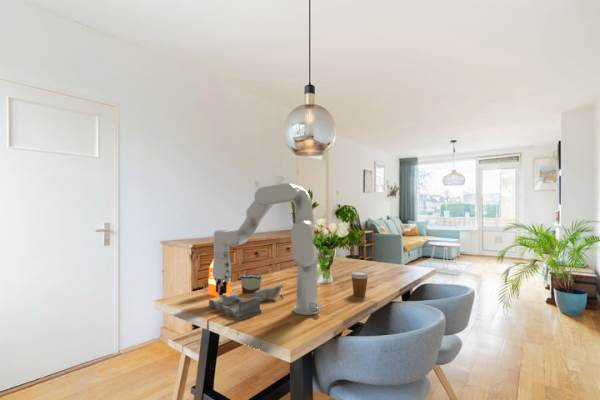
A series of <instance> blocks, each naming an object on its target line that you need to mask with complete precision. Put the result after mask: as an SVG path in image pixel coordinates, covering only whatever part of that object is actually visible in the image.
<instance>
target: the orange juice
mask: <svg viewBox="0 0 600 400" xmlns="http://www.w3.org/2000/svg"><path fill="white" fill-rule="evenodd" d="M213 262H214V258H213V259H212V261H211V263H210V265H209V266H208V295H211V296H214V297H217V298H219V295H218V292H216V284H215V279H214V277H213ZM224 281H225V280H224ZM224 281H223V282H224ZM228 294H231V281H230V282H228V283H227V293H225V294H224V295H228Z"/></svg>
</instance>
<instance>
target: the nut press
mask: <svg viewBox="0 0 600 400" xmlns="http://www.w3.org/2000/svg"><path fill="white" fill-rule="evenodd" d="M208 307H209V308H211V309H213V310H216V311H218V312H220V313H223V314H225V316H226V315H227V316H229V317H231V318H233V319H235V320H237V321H243V320H246V319H249V318H252V317H255V316H257V315H261V314H262V313H263V312H262V309H261V299H260V297H258V296H256V297H253V296H252V297H250V298H249V297H248V298H246V299H243V298H240V297H239V302H238V303H234V304H231V305H227V306H224V305H222V304H220V303H219V300H217V301H215V300H213V299H209V300H208Z"/></svg>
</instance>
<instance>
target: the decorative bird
mask: <svg viewBox="0 0 600 400" xmlns="http://www.w3.org/2000/svg"><path fill="white" fill-rule="evenodd" d="M283 287H284V284H279V285H277V286H271V287H265V288H260V290H257V291H255V292H254V294H252V298H253V297H256V296H258V297H260V301H261V300H262V301H272V300H273V299H276V298H277V297H278V296H279V298H281V300H284V296H283V294H282V293H281V294H280V292H281V289H282V288H283Z"/></svg>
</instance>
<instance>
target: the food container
mask: <svg viewBox="0 0 600 400" xmlns="http://www.w3.org/2000/svg"><path fill="white" fill-rule="evenodd" d="M239 280H240V283H241V292H242V295H253V294H254V292H255V291H257V290H260V289H261V282H262V280H263V276H262V275H261V274H260V273H243V274H241V275H240V277H239Z"/></svg>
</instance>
